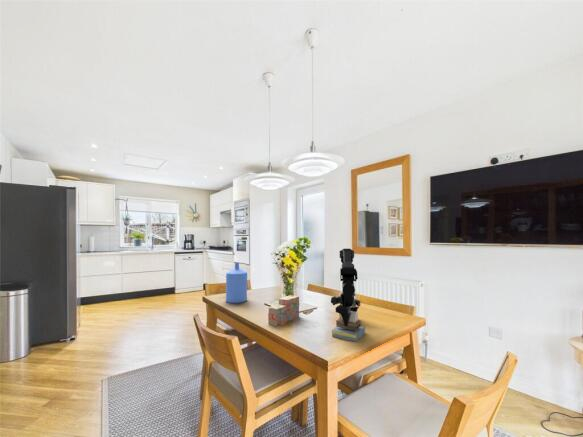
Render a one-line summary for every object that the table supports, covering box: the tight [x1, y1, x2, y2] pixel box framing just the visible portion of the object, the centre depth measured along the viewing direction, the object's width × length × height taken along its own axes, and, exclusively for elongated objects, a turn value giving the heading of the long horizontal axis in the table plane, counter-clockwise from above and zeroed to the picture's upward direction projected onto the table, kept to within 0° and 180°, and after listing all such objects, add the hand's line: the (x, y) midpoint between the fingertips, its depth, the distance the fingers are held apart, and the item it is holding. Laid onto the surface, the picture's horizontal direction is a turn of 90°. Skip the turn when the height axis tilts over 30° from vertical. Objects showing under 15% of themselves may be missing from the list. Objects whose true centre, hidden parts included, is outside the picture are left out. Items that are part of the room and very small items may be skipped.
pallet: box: [335, 318, 362, 330], centre depth 131 cm, size 7×10×3 cm
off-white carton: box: [349, 311, 359, 323], centre depth 130 cm, size 4×4×4 cm
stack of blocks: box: [267, 295, 300, 327], centre depth 153 cm, size 21×6×12 cm, turn 144°
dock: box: [331, 325, 366, 342], centre depth 130 cm, size 13×12×3 cm
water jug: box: [225, 262, 248, 304], centre depth 199 cm, size 16×16×28 cm
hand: (348, 323), depth 131 cm, fingers closed on pallet, 7 cm apart
